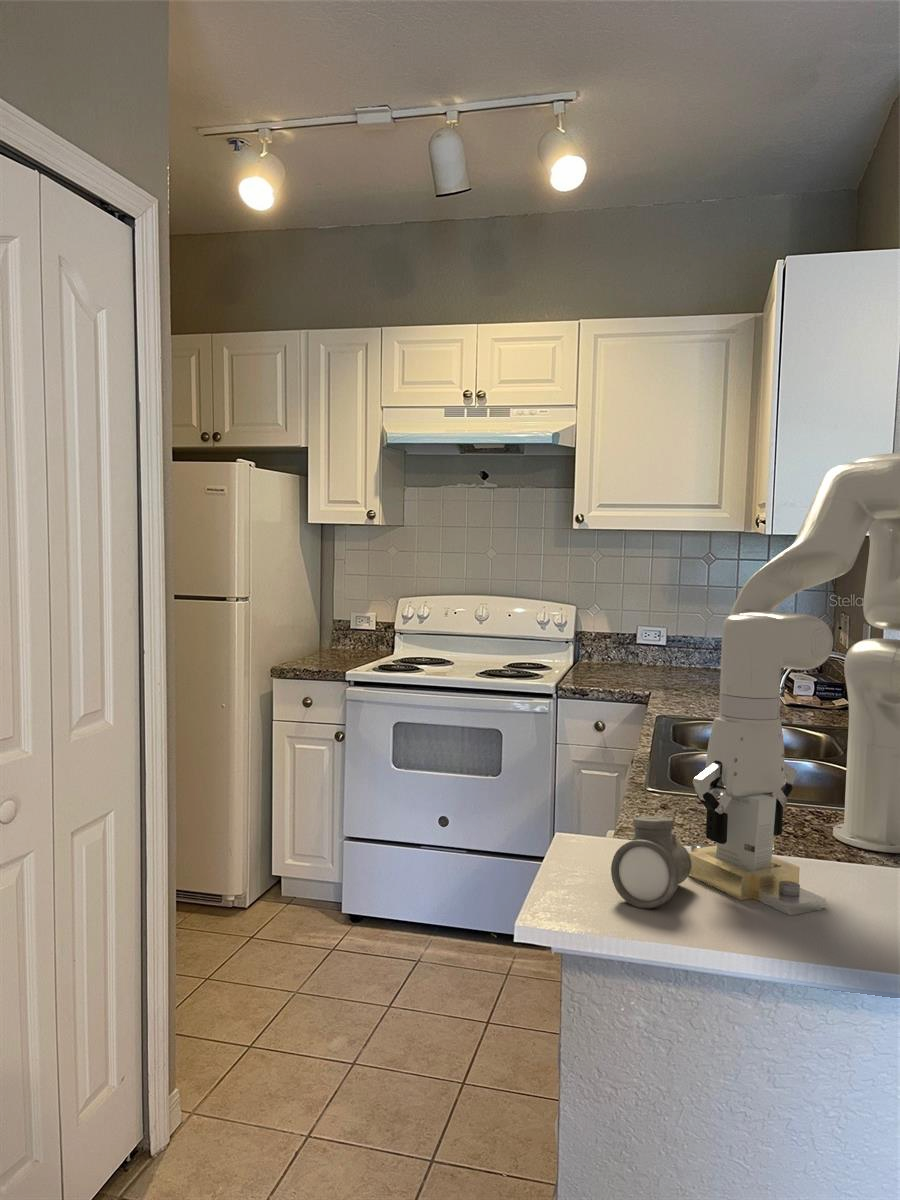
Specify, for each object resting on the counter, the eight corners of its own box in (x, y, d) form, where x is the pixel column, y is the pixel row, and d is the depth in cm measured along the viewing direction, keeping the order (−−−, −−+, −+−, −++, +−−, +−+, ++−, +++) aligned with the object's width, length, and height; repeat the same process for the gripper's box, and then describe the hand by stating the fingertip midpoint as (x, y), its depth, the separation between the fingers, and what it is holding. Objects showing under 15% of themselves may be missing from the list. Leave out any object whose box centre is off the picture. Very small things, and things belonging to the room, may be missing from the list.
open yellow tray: (711, 852, 129) (712, 832, 129) (837, 906, 109) (838, 882, 109) (657, 860, 124) (658, 839, 124) (778, 917, 105) (779, 892, 105)
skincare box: (713, 878, 118) (716, 788, 118) (733, 872, 121) (737, 784, 120) (753, 892, 113) (757, 799, 113) (773, 886, 116) (777, 794, 115)
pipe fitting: (673, 914, 104) (672, 825, 105) (609, 904, 108) (609, 819, 109) (703, 896, 114) (703, 815, 115) (644, 888, 118) (644, 810, 119)
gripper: (775, 701, 123) (770, 822, 124) (678, 707, 116) (673, 836, 116) (819, 709, 117) (813, 837, 117) (719, 716, 109) (714, 853, 109)
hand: (744, 836), depth 117 cm, fingers open, 9 cm apart
